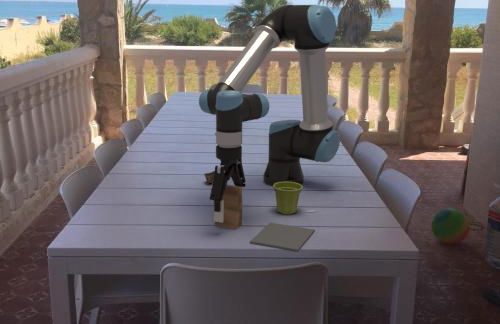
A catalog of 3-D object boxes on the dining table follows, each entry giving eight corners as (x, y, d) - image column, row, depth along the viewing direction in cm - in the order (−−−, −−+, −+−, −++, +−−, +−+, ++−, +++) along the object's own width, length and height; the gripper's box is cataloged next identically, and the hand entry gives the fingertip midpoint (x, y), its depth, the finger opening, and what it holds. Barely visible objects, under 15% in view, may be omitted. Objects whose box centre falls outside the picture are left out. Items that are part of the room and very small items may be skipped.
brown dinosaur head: (224, 183, 222) (226, 165, 221) (225, 186, 216) (227, 167, 215) (203, 182, 221) (204, 164, 221) (203, 184, 215) (205, 165, 214)
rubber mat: (269, 224, 179) (270, 222, 178) (314, 231, 174) (314, 229, 173) (249, 243, 164) (249, 241, 164) (297, 251, 159) (298, 249, 159)
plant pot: (299, 206, 195) (300, 181, 192) (303, 216, 186) (304, 190, 183) (271, 206, 194) (272, 181, 192) (273, 216, 185) (274, 190, 183)
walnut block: (220, 221, 180) (220, 184, 177) (241, 225, 178) (242, 187, 175) (215, 226, 177) (215, 187, 174) (236, 229, 174) (236, 190, 171)
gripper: (234, 135, 183) (233, 200, 189) (197, 152, 161) (197, 226, 166) (256, 137, 181) (255, 203, 186) (222, 155, 158) (222, 230, 164)
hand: (228, 214), depth 176 cm, fingers open, 13 cm apart
